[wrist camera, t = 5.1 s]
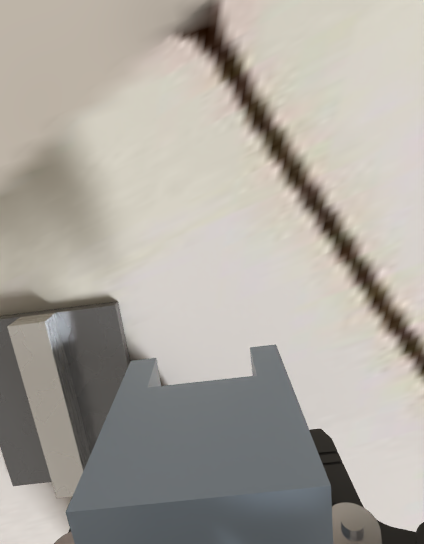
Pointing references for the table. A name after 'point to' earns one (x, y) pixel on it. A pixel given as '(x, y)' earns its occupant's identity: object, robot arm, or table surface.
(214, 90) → the table surface
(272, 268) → the table surface
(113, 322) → the rail plate
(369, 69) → the table surface
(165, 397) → the block
